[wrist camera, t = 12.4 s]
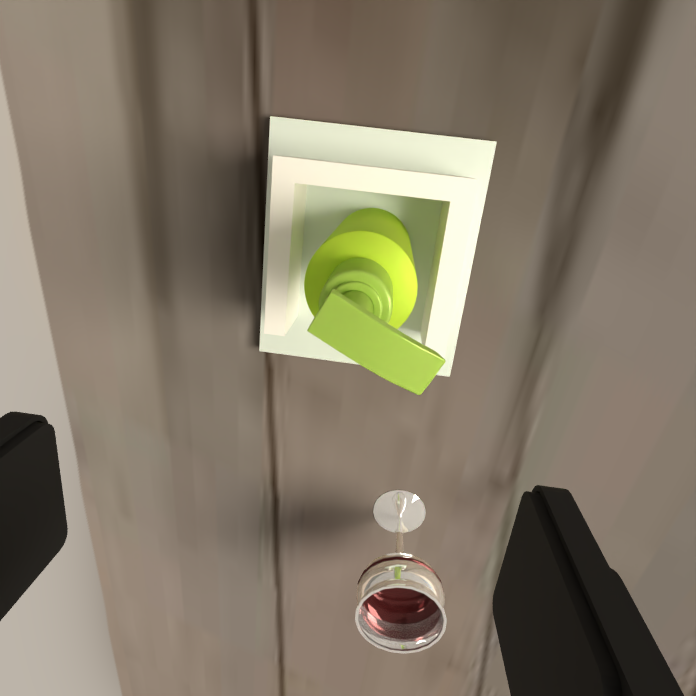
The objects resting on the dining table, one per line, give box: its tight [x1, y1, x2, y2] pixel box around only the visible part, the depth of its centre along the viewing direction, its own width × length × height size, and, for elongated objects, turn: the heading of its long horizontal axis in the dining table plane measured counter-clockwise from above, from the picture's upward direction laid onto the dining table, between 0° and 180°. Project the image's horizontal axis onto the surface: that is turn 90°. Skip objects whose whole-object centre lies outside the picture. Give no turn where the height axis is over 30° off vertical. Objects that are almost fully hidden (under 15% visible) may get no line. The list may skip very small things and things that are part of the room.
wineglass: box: [355, 490, 447, 653], centre depth 42 cm, size 7×7×12 cm
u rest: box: [259, 116, 497, 377], centre depth 36 cm, size 18×16×6 cm
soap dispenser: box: [304, 208, 446, 395], centre depth 28 cm, size 6×7×20 cm
